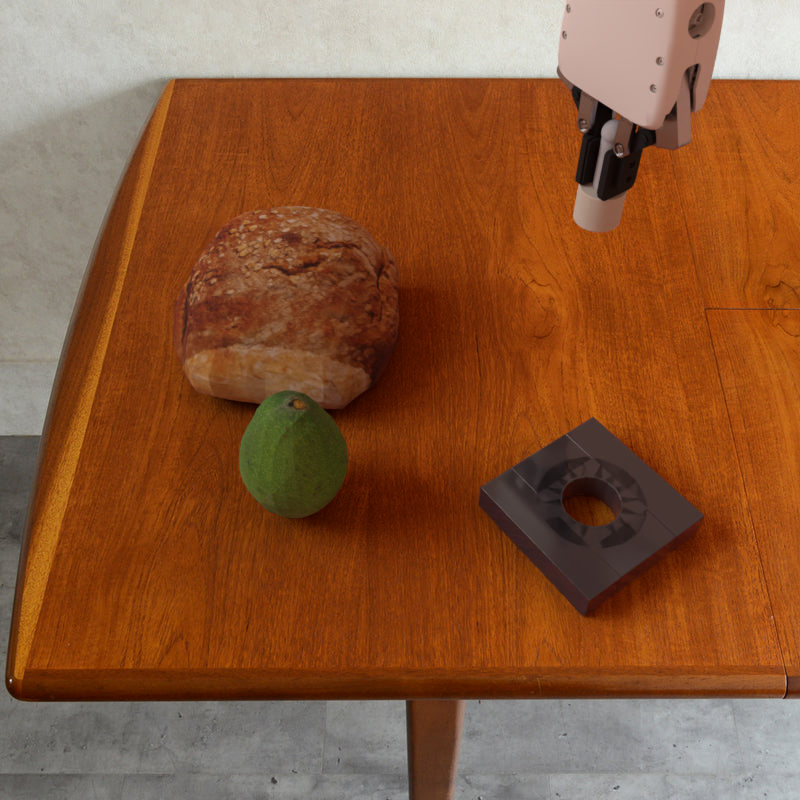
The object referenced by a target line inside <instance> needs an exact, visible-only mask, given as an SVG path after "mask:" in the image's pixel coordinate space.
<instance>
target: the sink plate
mask: <svg viewBox="0 0 800 800" xmlns="http://www.w3.org/2000/svg"><path fill="white" fill-rule="evenodd" d="M478 495H479V496H478V506H479V508H480V509H482V511H483V512H484V513H485V514H486V515H487V516H488V517H489V518H490V519H491V520H492V521H493V522H494V524H496V526H498V528H500V530H501V531H502V532H503V533H504V534H505V535H506V536H507V537H508V539H510V540H511V541H512V543H513V544H515V546H516V547H517V548H518V549H519V550H520V551H521V553H523V554H524V555H525V557H526V558H527V559H528V560H529V561H530V562H532V564H533V565H534V566H535V567H536V568H537V569H538V570H539V571H540V572H541V573H542V574H543V575H544V576H545V577H546V578H547V580H548V581H549V582H550V583H551V584H552V585H553V586H554V587H555V588H556V589H557V590H558V592H560V593H561V595H562V596H563V597H564V598H565V599H566V600H567V601H568V603H570V604H571V605H572V606H573V607H574V608H575V609H576V610H577V612H578V613H579V614H580V615H581V616H582V617H583V618H584V617H586V616H588V615H590V613H591V612H593V611H594V610H595V609H597V608H598V607H600V606H601V605H602V604H604V603H605V602H607V601H608V600H609V599H610V598H612V597H614V596H615V594H617V593H619V592H620V591H622V590H623V589H624V588H626V586H628V585H629V584H630V583H632V582H633V581H635V580H636V579H637V578H639V577H640V576H642V574H644V573H646V572H647V571H648V570H650V569H651V568H652V567H653V566H655V565H656V564H658V563H659V562H660V561H662V560H663V559H664V558H666V557H667V556H668V555H669V554H671V553H672V552H674V551H675V550H676V549H678V548H679V547H681V546H682V545H684V544H685V543H686V542H688V541H689V540H690V539H691V538H693V537H694V536H696V535H697V534H698V531H699V530H700V528H701V525H702V524H703V521H704V519H705V514H704V513H703V512H702V511H701V510H699V509H698V507H696V506H695V505H694V504H692V503H691V502H690V501H689V500H688V499H687V498H686V497H685V496H684V495H682V493H680V492H679V491H678V490H676V488H674V486H672V485H671V484H670V483H669V482H668V481H667V480H666V479H665V478H663V477H662V476H661V475H660V474H659V473H658V472H656V471H655V470H654V469H653V468H652V467H651V466H650V465H649V464H647V463H646V462H645V461H644V460H643V459H642V458H641V457H640V456H638V455H637V454H636V453H635V452H634V451H632V450H631V449H630V447H628V445H626V444H625V443H623V441H621V439H619V438H618V437H617V436H616V435H614V433H612V432H611V431H610V430H609V429H608V428H607V427H606V426H605V425H603V424H602V423H601V422H600V421H599V420H598V419H597V418H595V417H594V416H592V417H590V418H589V419H587V420H585V421H584V422H582V423H581V424H579V425H577V426H576V427H574V428H573V429H571V430H570V431H567V432H566V433H564V434H562V435H561V436H560V437H558V438H556V439H555V440H553V441H552V442H550V443H549V444H547V445H545V446H544V447H542V448H540V449H538V450H537V451H536V452H534V453H532V454H530V455H529V456H528V457H526V458H524V459H523V460H521V461H519V462H518V463H517V464H514V465H513V466H512V467H510V468H508V469H507V470H506V471H504V472H502V473H500V474H499V475H497V476H496V477H494V478H493V479H491V480H489V481H487V482H486V483H484V484H483V485H481V486H480V488H479V494H478ZM577 496H578V497H579V496H585V497H592V498H595V499H597V500H599V501H601V502H603V503H604V504H605V505H606V506H607V508H609V509H610V510H611V512H612V515H613V517H614V519H613V520H612V521H611V522H609V523H607V524H601V525H597V526H596V525H590V524H584V523H582V522H580V521H578V520H576V519H574V518H573V517H572V516H571V515H570V514H569V513H568V512H567V511H566V509H565V506H564V504H563V503H564V502H566V501H567V500H569V499H570V498H573V497H577Z"/></svg>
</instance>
